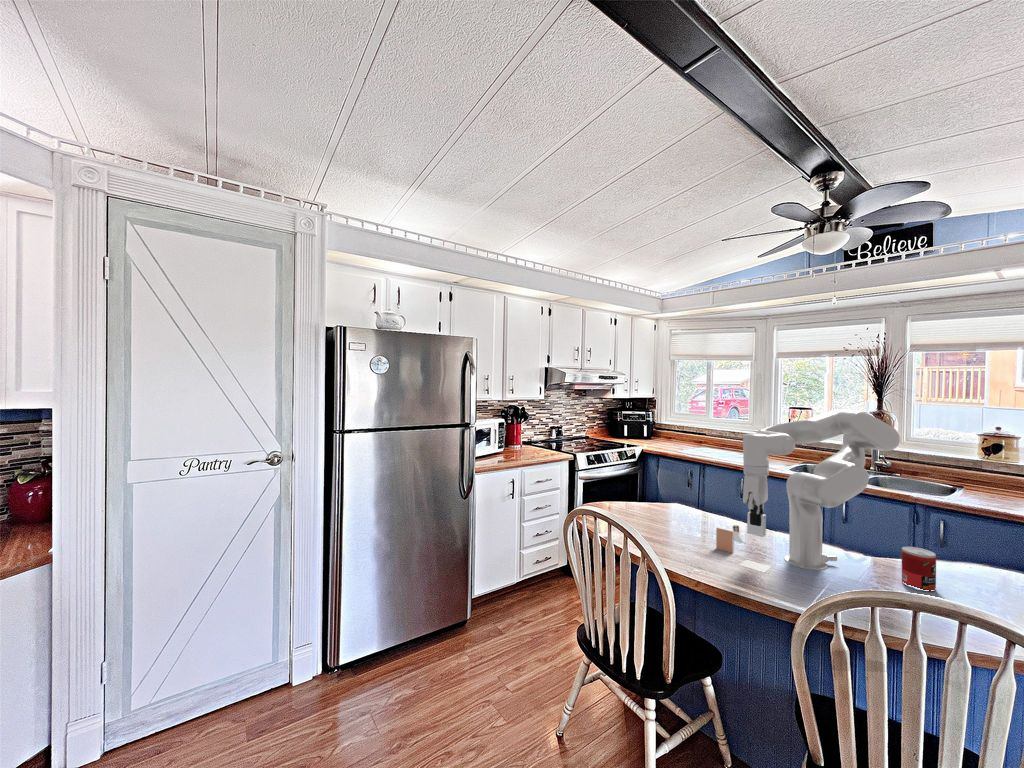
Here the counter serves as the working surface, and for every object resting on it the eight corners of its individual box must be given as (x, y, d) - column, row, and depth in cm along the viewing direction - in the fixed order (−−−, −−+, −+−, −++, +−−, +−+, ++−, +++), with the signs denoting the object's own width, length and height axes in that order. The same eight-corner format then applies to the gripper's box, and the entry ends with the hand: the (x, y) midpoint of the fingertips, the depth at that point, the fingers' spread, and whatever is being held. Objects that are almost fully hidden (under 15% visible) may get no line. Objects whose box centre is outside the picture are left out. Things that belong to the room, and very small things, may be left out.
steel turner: (749, 531, 153) (750, 502, 153) (765, 535, 149) (766, 505, 149) (747, 533, 151) (747, 504, 151) (763, 537, 148) (763, 507, 148)
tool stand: (746, 561, 155) (746, 559, 155) (771, 569, 150) (771, 566, 150) (738, 567, 151) (738, 565, 151) (764, 574, 145) (764, 572, 145)
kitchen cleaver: (718, 523, 197) (744, 525, 192) (718, 526, 197) (744, 528, 192) (716, 541, 175) (745, 544, 171) (716, 544, 175) (745, 547, 171)
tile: (717, 548, 167) (717, 526, 167) (734, 552, 162) (734, 530, 162) (716, 548, 166) (716, 527, 166) (732, 553, 162) (732, 531, 162)
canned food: (927, 594, 132) (928, 557, 132) (895, 583, 139) (896, 548, 139) (941, 589, 135) (941, 553, 135) (909, 579, 142) (909, 544, 142)
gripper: (752, 465, 158) (753, 516, 158) (735, 472, 148) (736, 527, 148) (776, 468, 153) (777, 521, 153) (759, 475, 142) (760, 532, 142)
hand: (756, 523), depth 150 cm, fingers closed on steel turner, 2 cm apart
